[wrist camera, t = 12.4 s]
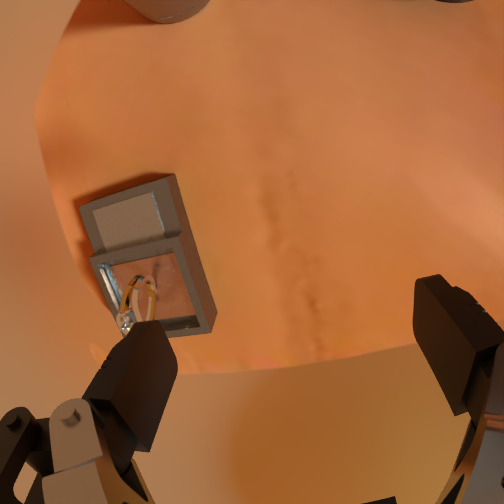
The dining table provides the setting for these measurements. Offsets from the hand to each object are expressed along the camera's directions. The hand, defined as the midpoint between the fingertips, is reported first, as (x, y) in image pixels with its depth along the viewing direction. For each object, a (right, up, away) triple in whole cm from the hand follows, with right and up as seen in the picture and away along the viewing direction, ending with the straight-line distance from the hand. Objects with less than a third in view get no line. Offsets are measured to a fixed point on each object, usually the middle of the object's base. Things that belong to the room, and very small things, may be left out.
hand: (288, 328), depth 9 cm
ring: (-13, -2, +27) cm, 30 cm away
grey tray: (-13, +2, +28) cm, 31 cm away
